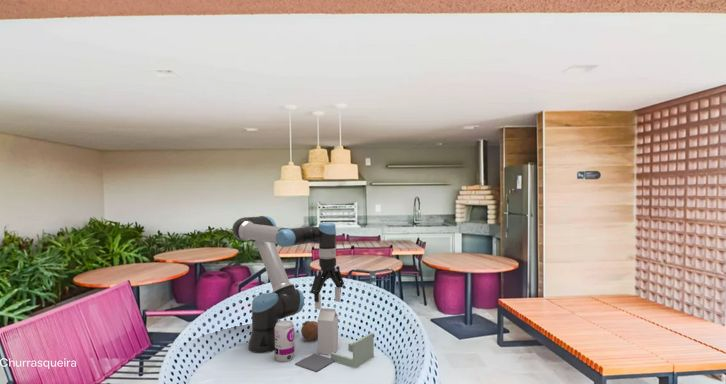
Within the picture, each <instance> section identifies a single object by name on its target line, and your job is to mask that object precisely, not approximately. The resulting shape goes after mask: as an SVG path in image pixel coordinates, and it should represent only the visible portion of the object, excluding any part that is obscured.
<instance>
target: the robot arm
mask: <svg viewBox="0 0 726 384" xmlns="http://www.w3.org/2000/svg"><path fill="white" fill-rule="evenodd" d="M231 228H232V229H231V231H232V235H233V236H234V238H236V239H237V240H238V241H239V240H240V241H250V240H251V241H252V244H253V245H254V246H255V247H257V249H258V252H259V253H260V257H261V260H262V262H263V266H264V268H265V270H266V271H265V272H266V273H267V274H266V275H267V276H268V279H269V281H270V282H269V283H270V284H271V288H272V292H267V293H266V292H265V293H260V294H258V295H257V296H255V297H254V298H253V300H252V302H251V322H252V323H251V334H250V338H249V340H248V345H247V346H248V350H249V351H250V352H251V353H252V352H253V353H258V354H259V353H261V354H263V353H270V352H273V351H274V352H275V326H276V323H277V322H279V320H282V319H283V320H284V319H285V318H288V317H291V316H292V317H293V316H295V315H296V314H298V313H299V314H300V312H301V311H302V310H303V309H304V305H305V298H304V294H303V292H302V291H301V290H300V289H298V288H296V287H295V285H294V283H291V282H290V280H289V277H288V274H287V273H286V270H285V267H284V264H283V261H282V259H281V256H280V254H279V251H278V249H277V246H276V245H278V246H279V247H282V248H287V247H289V248H290V247H293V246H300V245H306V244H318V256H319V259H318V263H319V265H318V266H319V267H320V270H318V269H317V270H315V273H314V274H315V275H314V279H313V283H312V286H311V289H310V294H313V298H314V299H313V300H314V309H315V310H319V311H320V309H321V308H322V300H321V298H322V295H321V290H322V289H323V287H324V284H325V282H326V281H328V280H329V279H330V280H331V281H332V282H333V284H334V285H335V287H334V301H335V302H336V303H337V302H338V303H340V302H341V293H342V288H343V287H344V285H345V283H344V282H345V281H344V279H343V277H342V273H341V271H340V266H339V265H337V258H336V257H337V245H336V244H337V243H336V241H337V240H336V239H337V230H336V229H337V228H336V224H335V223H334V222H320V223H319V224H318V226H311V225H306V226H305V225H304V226H302V227H295V228H290V227H289V228H288V227H281V226H280V227H279V226H277V224H276V222H275V220H274V219H273V218H272V217H271V216H268V215H267V216H265V215H260V216H250V217H249V216H247V217H246V216H245V217H241V218H238V219H237V220H235V222H234V223H233V224H232V227H231Z"/></svg>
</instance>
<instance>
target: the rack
mask: <svg viewBox="0 0 726 384" xmlns="http://www.w3.org/2000/svg"><path fill="white" fill-rule="evenodd" d="M374 337H375V336H374V332H369V333H368V334H366V335H364V336H361V337H360V338H358V339H357V340H355V341H353V342H349V343H348V347H347V349H348V350H349V352H351V353H352V357H349V356H346V355H342V354H339V353H337V352H335V353H333V352H332V353H331V355H330V358H331V359H332V360H335V362H334V363H337V364H342V365H345V366H347V367H350V368H353V369H357V368H358V367H359V366H361V365H363V364H364V363H366V362H367V361H369V360H370V359H372V358H373V357H375V351H374V349H375V348H374V345H375V343H374V341H375V340H374V339H375V338H374Z"/></svg>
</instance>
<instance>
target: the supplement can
mask: <svg viewBox="0 0 726 384" xmlns="http://www.w3.org/2000/svg"><path fill="white" fill-rule="evenodd" d="M294 357H295V324H294V322H293V321H291V320H281V321H278V322H277V323H276V326H275V350H274V359H275V360H276V361H277V362H279V363H280V362H282V363H285V362H290V361H293V359H294Z"/></svg>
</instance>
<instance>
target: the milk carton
mask: <svg viewBox="0 0 726 384" xmlns="http://www.w3.org/2000/svg"><path fill="white" fill-rule="evenodd" d="M317 322H318V338H317V354H319V355H329V354H330V356H331V353H332V352H333V353H337V351H338V349H339V315H338V313H337V312H336V309H335V308H322V307H321V309H320V310H319V313H318V318H317Z"/></svg>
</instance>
